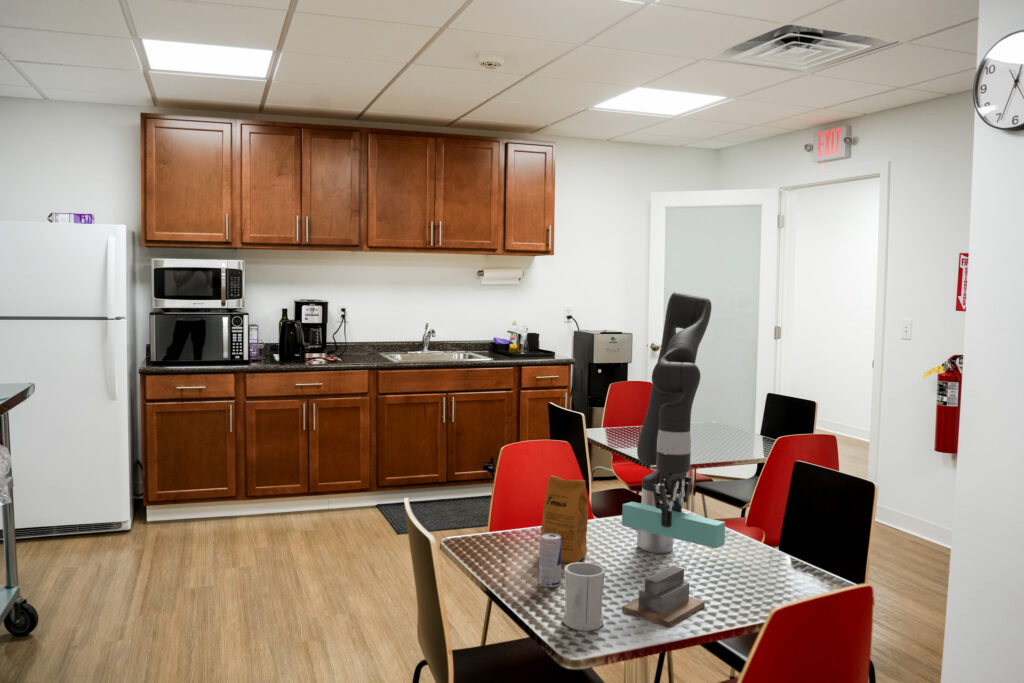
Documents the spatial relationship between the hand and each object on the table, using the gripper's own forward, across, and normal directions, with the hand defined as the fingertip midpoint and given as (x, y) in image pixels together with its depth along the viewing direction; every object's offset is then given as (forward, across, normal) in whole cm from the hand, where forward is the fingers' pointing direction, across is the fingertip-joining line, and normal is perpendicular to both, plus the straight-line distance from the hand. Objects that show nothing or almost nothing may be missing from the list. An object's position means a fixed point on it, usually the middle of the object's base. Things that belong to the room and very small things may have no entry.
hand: (671, 524), depth 175 cm
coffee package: (+20, -11, -39) cm, 45 cm away
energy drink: (+20, +7, -29) cm, 36 cm away
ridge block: (+20, +1, -1) cm, 20 cm away
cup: (+20, +21, -9) cm, 30 cm away
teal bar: (+2, 0, 0) cm, 2 cm away
